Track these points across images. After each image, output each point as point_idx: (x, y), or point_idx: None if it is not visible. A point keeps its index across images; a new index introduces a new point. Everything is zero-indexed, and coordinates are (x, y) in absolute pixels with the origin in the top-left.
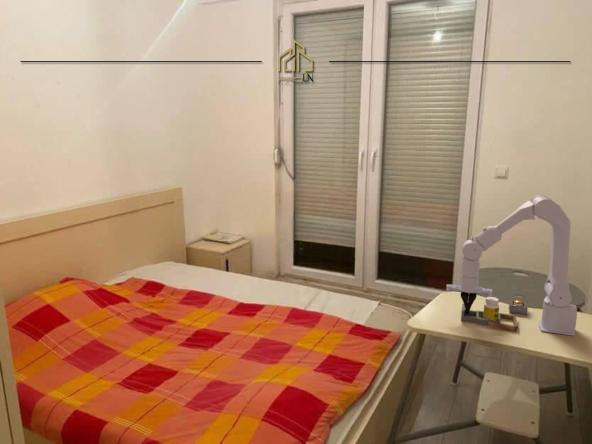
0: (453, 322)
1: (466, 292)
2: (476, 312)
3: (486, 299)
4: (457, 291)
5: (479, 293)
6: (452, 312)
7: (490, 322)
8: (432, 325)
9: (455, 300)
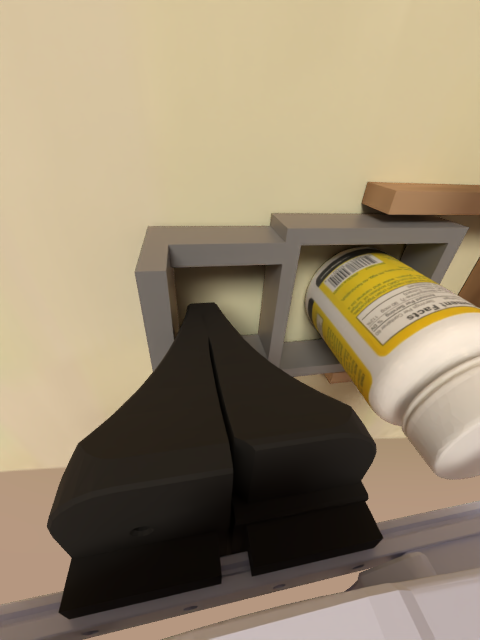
0: (124, 375)
1: (196, 607)
2: (278, 261)
3: (430, 463)
4: (9, 624)
5: (403, 550)
6: (48, 202)
7: (339, 378)
8: (27, 445)
9: None
